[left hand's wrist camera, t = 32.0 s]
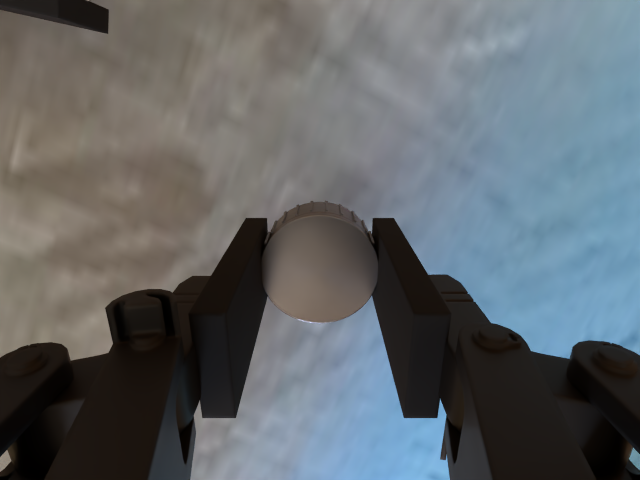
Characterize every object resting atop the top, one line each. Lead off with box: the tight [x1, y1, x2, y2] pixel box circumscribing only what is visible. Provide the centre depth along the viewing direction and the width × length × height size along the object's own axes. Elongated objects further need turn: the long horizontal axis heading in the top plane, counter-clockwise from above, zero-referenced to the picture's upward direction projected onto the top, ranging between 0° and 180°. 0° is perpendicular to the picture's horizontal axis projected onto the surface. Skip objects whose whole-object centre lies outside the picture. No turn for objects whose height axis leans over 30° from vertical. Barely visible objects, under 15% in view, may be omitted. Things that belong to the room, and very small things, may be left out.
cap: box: [261, 201, 378, 323], centre depth 13 cm, size 4×4×2 cm
